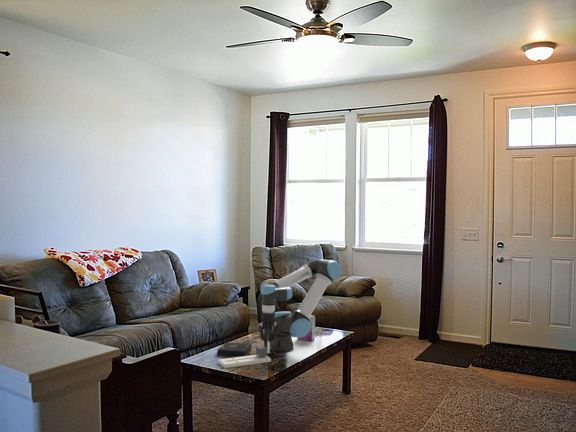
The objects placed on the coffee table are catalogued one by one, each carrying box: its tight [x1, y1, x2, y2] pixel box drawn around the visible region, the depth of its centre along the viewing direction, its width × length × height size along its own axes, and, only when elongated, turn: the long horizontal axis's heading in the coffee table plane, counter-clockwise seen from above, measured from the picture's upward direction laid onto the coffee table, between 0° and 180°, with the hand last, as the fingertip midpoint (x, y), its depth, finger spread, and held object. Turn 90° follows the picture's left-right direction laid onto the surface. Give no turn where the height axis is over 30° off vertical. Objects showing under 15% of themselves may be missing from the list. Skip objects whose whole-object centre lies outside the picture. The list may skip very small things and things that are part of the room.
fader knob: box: [255, 345, 267, 357], centre depth 296 cm, size 4×5×5 cm
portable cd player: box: [216, 342, 252, 358], centre depth 311 cm, size 16×17×4 cm
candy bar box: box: [296, 314, 316, 342], centre depth 344 cm, size 11×5×16 cm, turn 63°
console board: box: [218, 354, 272, 369], centre depth 291 cm, size 28×10×2 cm, turn 118°
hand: (267, 352), depth 298 cm, fingers closed
